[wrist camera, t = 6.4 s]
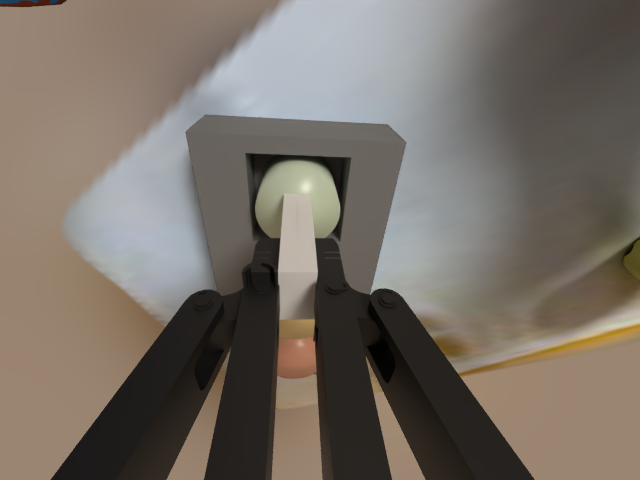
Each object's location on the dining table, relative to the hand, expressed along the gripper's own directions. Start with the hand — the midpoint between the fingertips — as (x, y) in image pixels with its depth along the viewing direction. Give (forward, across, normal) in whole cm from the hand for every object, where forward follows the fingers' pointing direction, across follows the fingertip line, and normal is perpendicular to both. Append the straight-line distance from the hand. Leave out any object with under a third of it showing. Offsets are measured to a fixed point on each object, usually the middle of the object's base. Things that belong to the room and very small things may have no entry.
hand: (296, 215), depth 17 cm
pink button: (+4, 0, -16) cm, 17 cm away
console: (+6, 0, -8) cm, 10 cm away
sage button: (+4, 0, 0) cm, 4 cm away
